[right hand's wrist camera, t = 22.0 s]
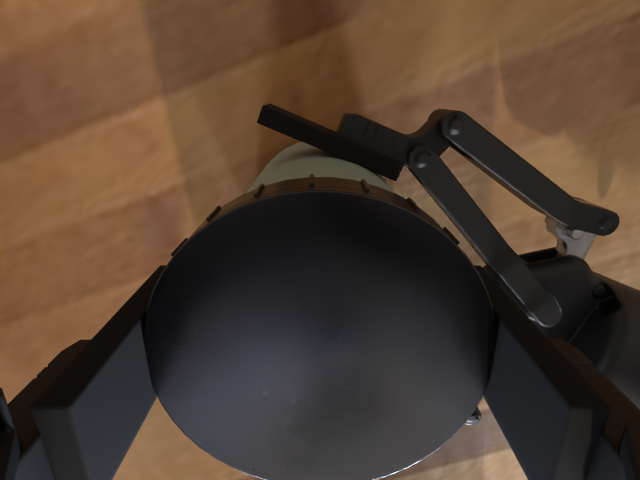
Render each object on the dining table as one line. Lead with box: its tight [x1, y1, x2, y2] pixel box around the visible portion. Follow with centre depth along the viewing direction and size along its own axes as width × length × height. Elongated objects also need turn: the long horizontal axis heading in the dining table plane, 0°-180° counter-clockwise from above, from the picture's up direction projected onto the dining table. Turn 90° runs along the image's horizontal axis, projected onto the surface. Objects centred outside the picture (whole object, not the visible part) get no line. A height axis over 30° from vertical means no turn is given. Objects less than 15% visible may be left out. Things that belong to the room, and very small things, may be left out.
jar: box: [246, 142, 394, 193], centre depth 19 cm, size 9×9×15 cm
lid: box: [144, 174, 497, 480], centre depth 12 cm, size 10×10×2 cm
